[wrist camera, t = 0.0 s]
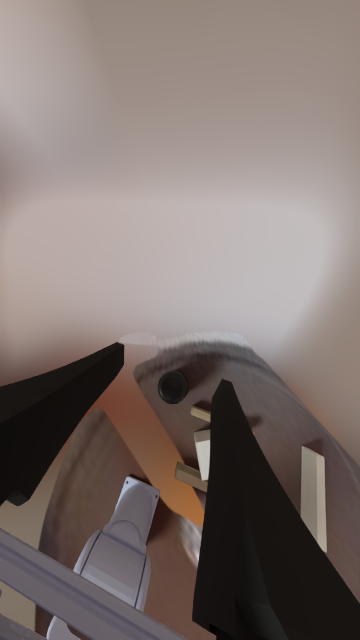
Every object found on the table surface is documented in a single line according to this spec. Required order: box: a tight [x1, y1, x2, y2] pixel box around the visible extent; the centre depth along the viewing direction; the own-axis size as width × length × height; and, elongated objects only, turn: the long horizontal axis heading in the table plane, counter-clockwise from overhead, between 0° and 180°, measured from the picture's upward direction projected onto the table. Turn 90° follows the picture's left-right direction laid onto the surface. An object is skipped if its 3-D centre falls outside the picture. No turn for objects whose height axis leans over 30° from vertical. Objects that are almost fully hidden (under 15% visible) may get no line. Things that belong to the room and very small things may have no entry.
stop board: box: [301, 446, 327, 553], centre depth 30 cm, size 14×2×4 cm, turn 162°
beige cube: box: [194, 429, 210, 481], centre depth 32 cm, size 6×6×6 cm
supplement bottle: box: [158, 370, 188, 404], centre depth 34 cm, size 7×7×12 cm
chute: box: [175, 405, 255, 492], centre depth 32 cm, size 14×14×4 cm
